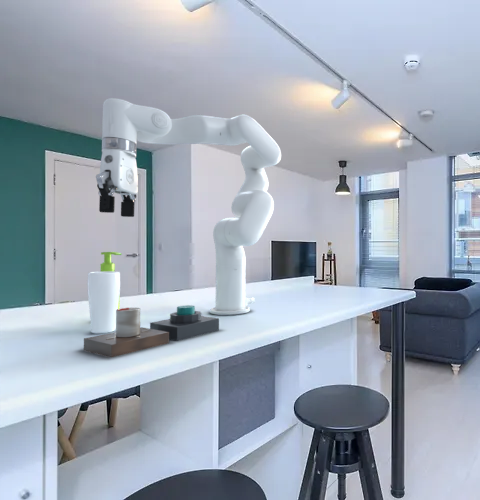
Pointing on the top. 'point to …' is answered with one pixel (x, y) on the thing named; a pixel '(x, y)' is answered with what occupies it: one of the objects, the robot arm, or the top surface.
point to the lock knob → (127, 322)
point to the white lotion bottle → (103, 300)
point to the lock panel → (125, 342)
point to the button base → (186, 325)
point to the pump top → (185, 310)
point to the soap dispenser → (109, 264)
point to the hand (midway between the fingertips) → (117, 214)
